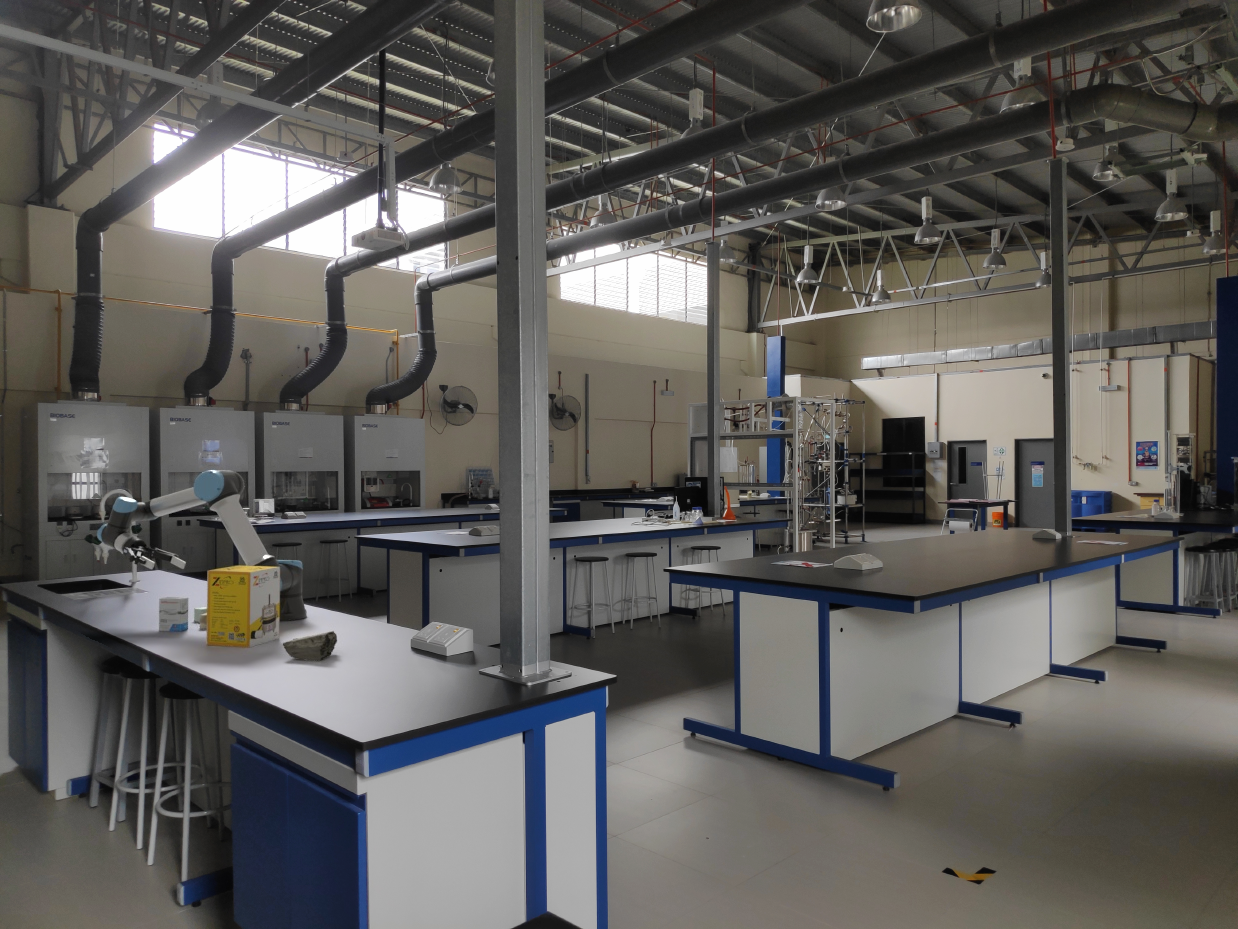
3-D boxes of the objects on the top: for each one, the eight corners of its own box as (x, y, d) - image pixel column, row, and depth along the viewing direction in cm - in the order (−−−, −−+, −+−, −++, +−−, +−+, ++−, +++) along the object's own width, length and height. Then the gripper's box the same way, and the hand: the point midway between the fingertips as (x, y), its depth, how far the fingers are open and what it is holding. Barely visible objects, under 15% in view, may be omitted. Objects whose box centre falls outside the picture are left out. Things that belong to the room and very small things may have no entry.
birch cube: (220, 626, 305) (220, 613, 305) (212, 628, 300) (213, 615, 300) (207, 626, 305) (207, 612, 305) (199, 628, 300) (200, 615, 300)
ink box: (188, 629, 298) (189, 597, 299) (180, 631, 294) (180, 599, 294) (167, 628, 299) (167, 596, 299) (158, 631, 294) (158, 598, 295)
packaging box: (238, 635, 287) (239, 565, 288) (279, 638, 284) (280, 566, 284) (206, 645, 271) (207, 570, 272) (249, 647, 268) (250, 572, 268)
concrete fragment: (276, 653, 249) (295, 619, 261) (293, 676, 254) (311, 641, 266) (317, 645, 245) (334, 610, 258) (334, 668, 251) (350, 633, 263)
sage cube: (213, 620, 316) (213, 607, 316) (201, 622, 312) (201, 609, 312) (206, 619, 319) (206, 606, 319) (194, 621, 315) (194, 608, 315)
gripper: (156, 555, 323) (193, 574, 315) (97, 555, 299) (135, 575, 292) (162, 537, 322) (199, 556, 315) (104, 535, 299) (142, 556, 292)
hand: (168, 565), depth 303 cm, fingers open, 13 cm apart
